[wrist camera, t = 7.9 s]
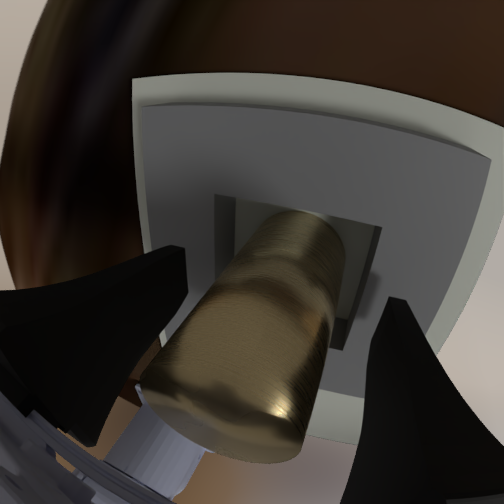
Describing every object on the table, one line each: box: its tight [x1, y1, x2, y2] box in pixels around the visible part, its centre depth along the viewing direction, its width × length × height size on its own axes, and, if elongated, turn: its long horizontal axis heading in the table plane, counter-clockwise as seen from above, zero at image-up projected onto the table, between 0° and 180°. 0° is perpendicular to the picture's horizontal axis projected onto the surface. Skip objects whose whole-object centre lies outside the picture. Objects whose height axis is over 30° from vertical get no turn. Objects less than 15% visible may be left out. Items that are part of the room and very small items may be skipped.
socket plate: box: [132, 73, 504, 445], centre depth 14 cm, size 22×16×3 cm
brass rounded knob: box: [139, 211, 346, 464], centre depth 9 cm, size 4×4×8 cm
